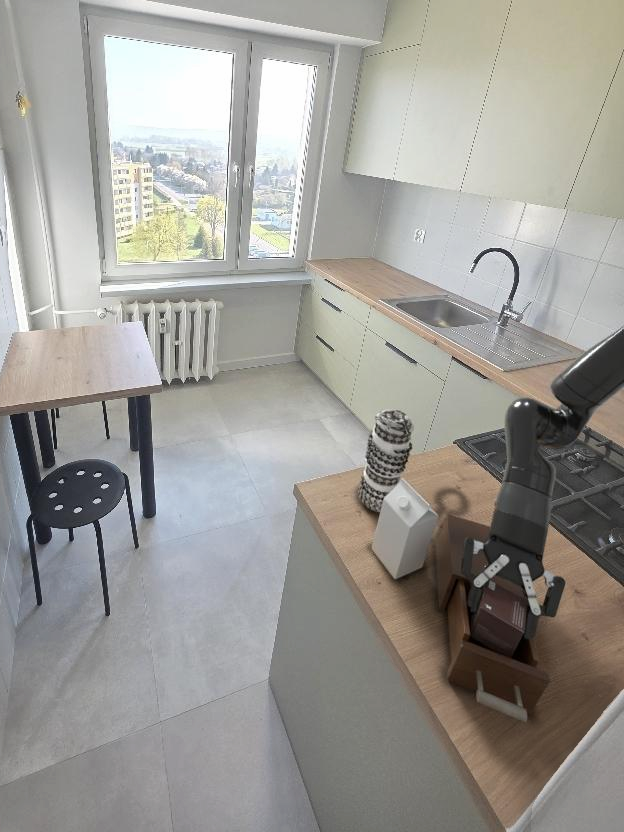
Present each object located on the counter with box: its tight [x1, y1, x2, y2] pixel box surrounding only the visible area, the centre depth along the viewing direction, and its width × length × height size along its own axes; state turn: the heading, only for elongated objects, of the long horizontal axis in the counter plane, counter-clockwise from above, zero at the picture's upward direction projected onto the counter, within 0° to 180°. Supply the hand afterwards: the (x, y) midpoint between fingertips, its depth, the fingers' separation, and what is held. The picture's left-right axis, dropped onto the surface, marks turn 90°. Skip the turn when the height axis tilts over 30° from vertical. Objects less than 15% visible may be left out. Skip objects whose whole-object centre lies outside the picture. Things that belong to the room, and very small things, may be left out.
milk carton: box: [371, 477, 440, 580], centre depth 81 cm, size 7×7×19 cm
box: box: [470, 580, 528, 658], centre depth 66 cm, size 6×6×7 cm
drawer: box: [446, 578, 551, 723], centre depth 66 cm, size 17×11×9 cm
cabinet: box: [435, 513, 528, 611], centre depth 78 cm, size 14×13×11 cm
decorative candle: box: [357, 408, 416, 513], centre depth 94 cm, size 9×9×25 cm
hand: (498, 624), depth 65 cm, fingers closed on box, 6 cm apart
